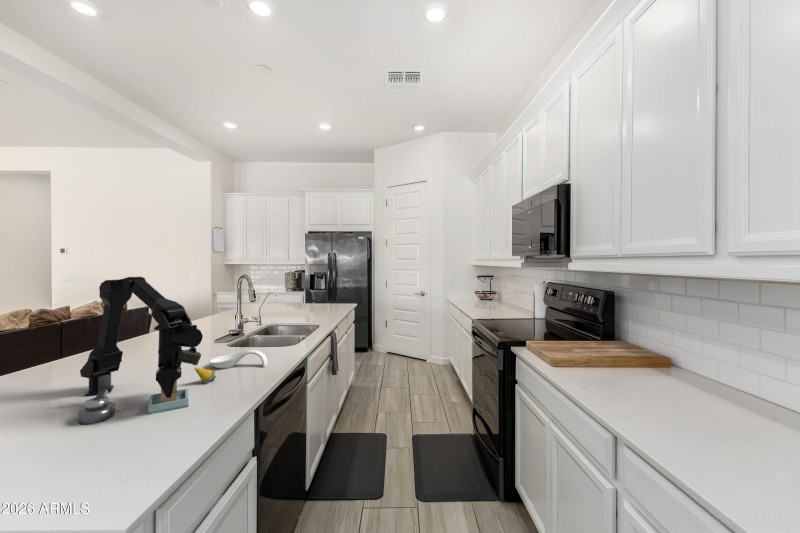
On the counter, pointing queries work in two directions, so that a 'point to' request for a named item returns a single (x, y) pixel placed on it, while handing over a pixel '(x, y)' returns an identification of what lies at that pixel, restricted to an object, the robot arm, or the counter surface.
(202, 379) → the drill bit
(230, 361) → the spoon rest
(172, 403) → the tray
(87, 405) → the crank
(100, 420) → the crank base
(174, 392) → the block
